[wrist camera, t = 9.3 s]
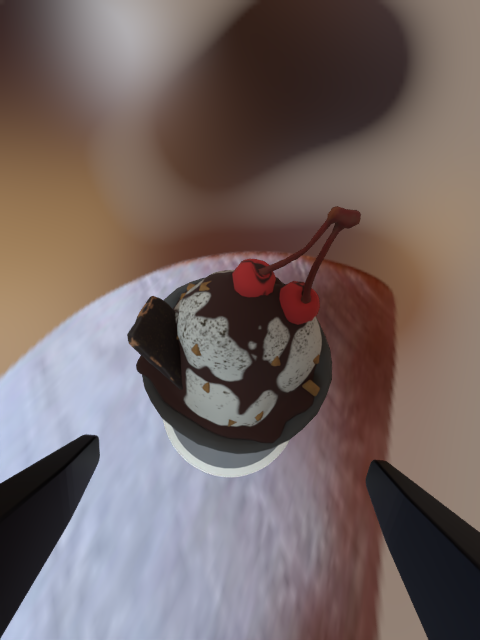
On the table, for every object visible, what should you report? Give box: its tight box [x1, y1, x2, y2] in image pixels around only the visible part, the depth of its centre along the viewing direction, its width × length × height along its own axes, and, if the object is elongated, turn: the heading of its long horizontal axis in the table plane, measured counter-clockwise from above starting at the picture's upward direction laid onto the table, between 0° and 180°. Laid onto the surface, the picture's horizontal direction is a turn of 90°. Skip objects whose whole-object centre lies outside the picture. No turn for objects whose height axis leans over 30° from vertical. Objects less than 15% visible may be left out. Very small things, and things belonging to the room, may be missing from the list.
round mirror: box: [163, 419, 289, 477], centre depth 18 cm, size 10×10×2 cm
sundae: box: [127, 206, 361, 454], centre depth 11 cm, size 7×7×15 cm
